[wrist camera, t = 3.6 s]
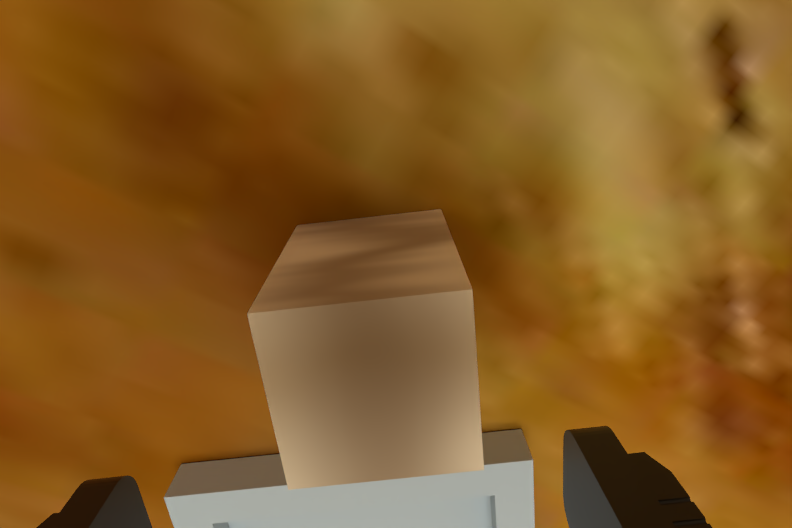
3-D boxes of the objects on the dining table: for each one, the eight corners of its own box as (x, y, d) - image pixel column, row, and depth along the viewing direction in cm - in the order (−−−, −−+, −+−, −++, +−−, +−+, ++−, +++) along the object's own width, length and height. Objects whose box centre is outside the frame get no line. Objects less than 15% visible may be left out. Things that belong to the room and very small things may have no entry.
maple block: (441, 208, 18) (472, 289, 11) (451, 336, 20) (484, 469, 13) (297, 224, 18) (247, 313, 12) (320, 350, 20) (288, 489, 13)
